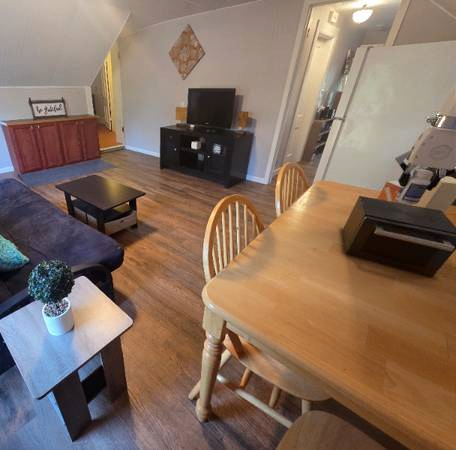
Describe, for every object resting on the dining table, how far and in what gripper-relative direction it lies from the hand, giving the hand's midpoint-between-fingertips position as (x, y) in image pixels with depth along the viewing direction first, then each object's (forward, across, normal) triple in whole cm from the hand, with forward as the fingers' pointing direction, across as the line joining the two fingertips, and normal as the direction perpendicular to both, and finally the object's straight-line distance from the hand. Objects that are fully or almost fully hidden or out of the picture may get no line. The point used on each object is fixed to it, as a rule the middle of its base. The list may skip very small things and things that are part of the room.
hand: (414, 186), depth 74 cm
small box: (+24, +8, +37) cm, 45 cm away
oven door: (+24, +1, -11) cm, 26 cm away
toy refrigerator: (+24, +15, +24) cm, 37 cm away
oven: (+24, +1, 0) cm, 24 cm away
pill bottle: (+5, 0, 0) cm, 5 cm away
